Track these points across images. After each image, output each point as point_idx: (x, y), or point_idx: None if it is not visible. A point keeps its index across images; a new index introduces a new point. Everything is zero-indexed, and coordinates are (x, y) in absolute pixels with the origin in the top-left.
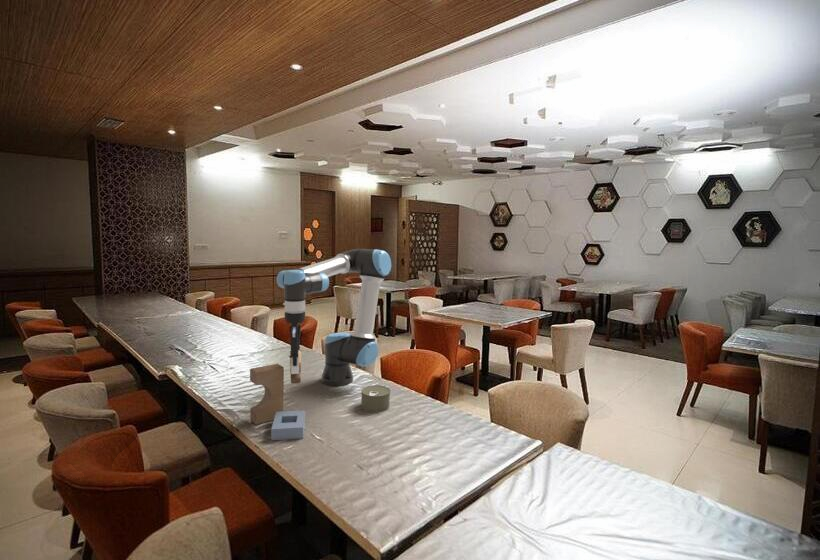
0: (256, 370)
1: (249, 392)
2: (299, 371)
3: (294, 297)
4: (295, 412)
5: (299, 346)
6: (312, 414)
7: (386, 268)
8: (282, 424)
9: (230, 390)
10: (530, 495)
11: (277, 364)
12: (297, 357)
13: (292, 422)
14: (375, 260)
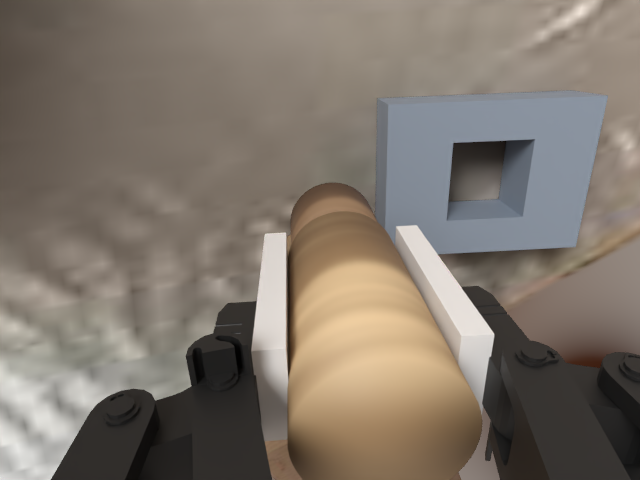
0: None
1: (35, 404)
2: (378, 226)
3: None
4: (410, 159)
5: (121, 432)
6: (303, 63)
7: None
8: (541, 205)
9: (27, 473)
10: None
11: (288, 454)
12: (490, 344)
13: (533, 159)
14: None
